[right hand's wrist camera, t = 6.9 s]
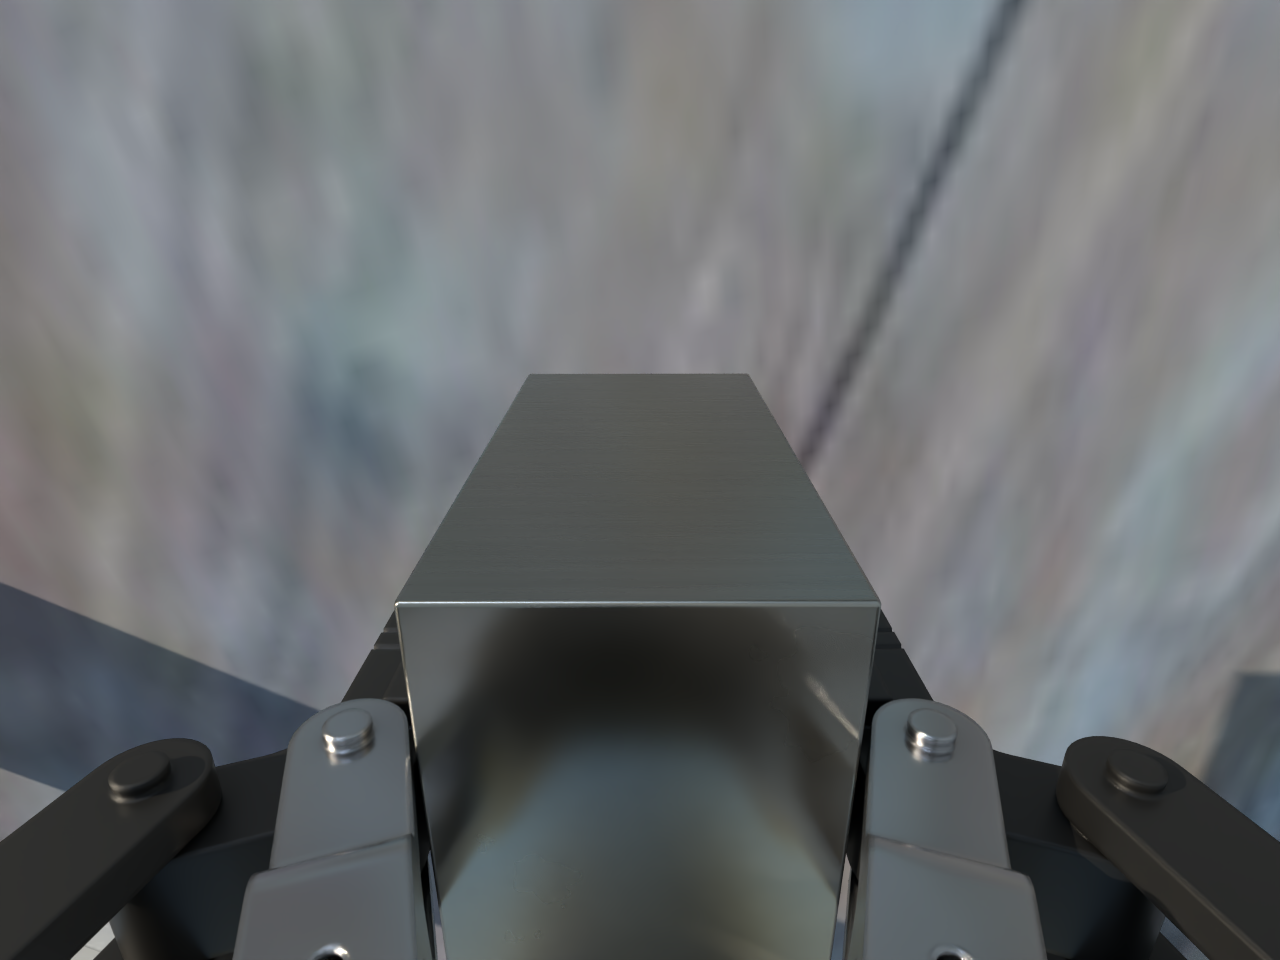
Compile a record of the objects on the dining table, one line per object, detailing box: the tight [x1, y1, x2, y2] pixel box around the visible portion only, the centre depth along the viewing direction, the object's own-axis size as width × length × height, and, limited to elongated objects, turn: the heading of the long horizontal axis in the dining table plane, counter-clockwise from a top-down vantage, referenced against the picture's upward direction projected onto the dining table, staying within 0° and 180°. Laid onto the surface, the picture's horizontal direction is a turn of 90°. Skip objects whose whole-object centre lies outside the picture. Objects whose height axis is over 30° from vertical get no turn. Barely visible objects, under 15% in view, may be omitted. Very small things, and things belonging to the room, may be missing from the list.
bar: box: [394, 374, 881, 960], centre depth 15 cm, size 23×5×9 cm, turn 0°
